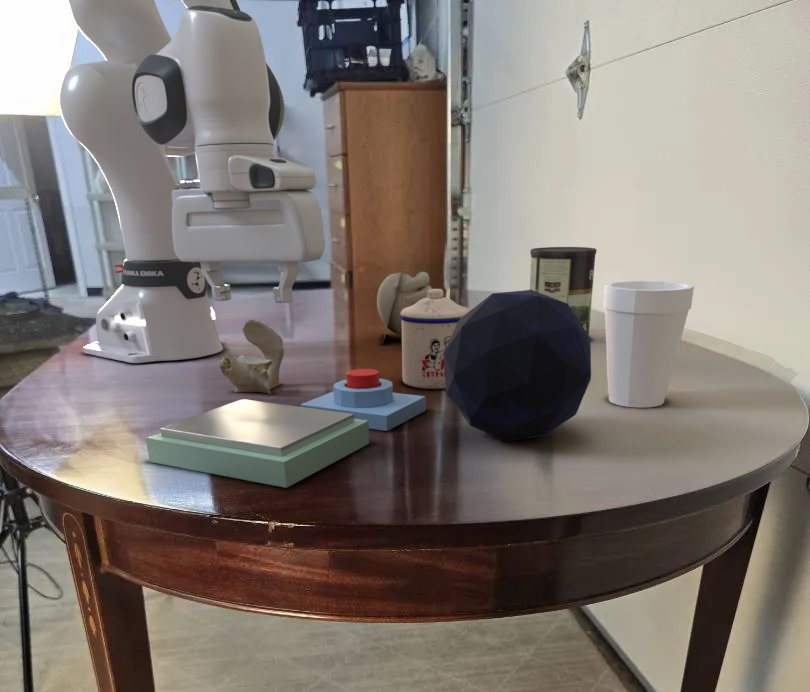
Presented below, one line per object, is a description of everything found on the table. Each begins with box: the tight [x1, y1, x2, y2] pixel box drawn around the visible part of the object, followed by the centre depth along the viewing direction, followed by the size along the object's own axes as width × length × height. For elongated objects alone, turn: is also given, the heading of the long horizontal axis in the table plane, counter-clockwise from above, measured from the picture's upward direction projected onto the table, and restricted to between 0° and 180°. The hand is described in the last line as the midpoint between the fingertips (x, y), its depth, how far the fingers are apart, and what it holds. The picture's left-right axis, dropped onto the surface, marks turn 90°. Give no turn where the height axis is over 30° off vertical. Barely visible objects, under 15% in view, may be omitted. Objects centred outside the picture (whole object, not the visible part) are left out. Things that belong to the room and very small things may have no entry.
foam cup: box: [602, 280, 695, 409], centre depth 88 cm, size 10×9×13 cm
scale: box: [145, 398, 370, 489], centre depth 75 cm, size 16×14×3 cm
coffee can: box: [529, 246, 597, 336], centre depth 125 cm, size 10×10×14 cm
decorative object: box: [376, 260, 433, 343], centre depth 128 cm, size 13×10×10 cm
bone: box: [219, 318, 285, 395], centre depth 97 cm, size 9×6×10 cm
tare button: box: [346, 368, 380, 389], centre depth 86 cm, size 4×4×2 cm
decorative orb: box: [443, 289, 592, 443], centre depth 76 cm, size 14×15×15 cm
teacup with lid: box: [400, 288, 471, 390], centre depth 100 cm, size 12×9×12 cm
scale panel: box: [300, 378, 426, 432], centre depth 87 cm, size 11×9×4 cm
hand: (252, 301), depth 93 cm, fingers open, 8 cm apart
